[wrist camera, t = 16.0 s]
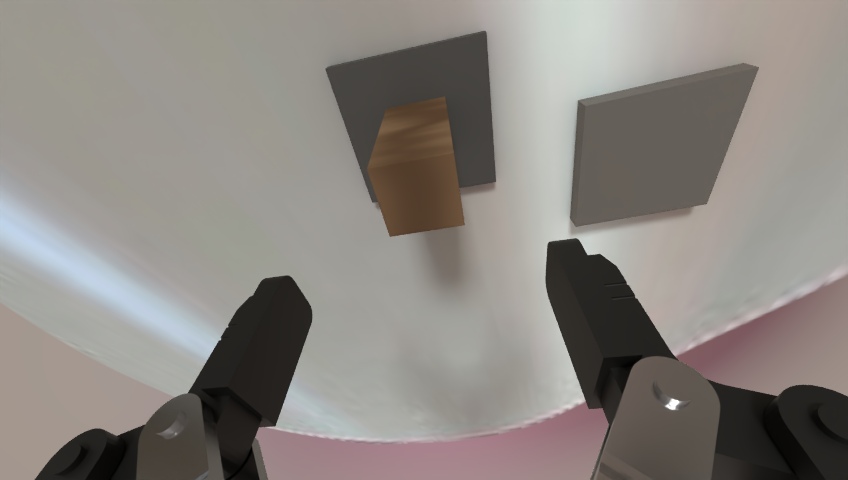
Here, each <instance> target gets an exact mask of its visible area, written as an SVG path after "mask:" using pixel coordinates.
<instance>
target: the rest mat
mask: <svg viewBox="0 0 848 480" xmlns="http://www.w3.org/2000/svg"><path fill="white" fill-rule="evenodd" d="M326 72H327V75H328V78H329V80H330V83H331V86H332V89H333V92H334V95H335V97H336V100H337V103H338V106H339V109H340V112H341V115H342V117H343V120H344V123H345V126H346V129H347V132H348V134H349V137H350V140H351V143H352V146H353V149H354V152H355V154H356V157H357V160H358V163H359V166H360V169H361V171H362V174H363V177H364V180H365V183H366V186H367V189H368V191H369V194H370V197H371V200H372V203H373V202H378V200H377V197H376V195H375V192H374V189H373V186H372V183H371V180H370V177H369V174H368V171H367V167H368V164H369V161H370V158H371V154H372V151H373V148H374V145H375V142H376V139H377V136H378V133H379V130H380V126H381V123H382V120H383V117H384V114H385V111H386V109H388V108H392V107H397V106H402V105H407V104H411V103H416V102H421V101H426V100H430V99H435V98H440V97H445V99H446V106H447V112H448V118H449V125H450V131H451V137H452V144H453V150H454V157H455V163H456V170H457V177H458V183H459V188H462V187H468V186H474V185H480V184H486V183H492V182H496V176H495V160H494V144H493V129H492V113H491V98H490V82H489V67H488V51H487V35H486V32H485V31H482V32H478V33H473V34H469V35H465V36H460V37H456V38H451V39H447V40H443V41H438V42H434V43H430V44H425V45H421V46H417V47H412V48H408V49H404V50H399V51H395V52H390V53H386V54H382V55H377V56H373V57H369V58H364V59H360V60H356V61H351V62H347V63H342V64H338V65H334V66H329V67H327V68H326Z"/></svg>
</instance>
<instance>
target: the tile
mask: <svg viewBox="0 0 848 480" xmlns="http://www.w3.org/2000/svg"><path fill="white" fill-rule="evenodd" d="M758 69H759V67H756V66H752V65H749V64H745V63H741V64H737V65H733V66H728V67H724V68H719V69H715V70H710V71H706V72H702V73H697V74H693V75H688V76H684V77H679V78H675V79H671V80H666V81H662V82H657V83H653V84H648V85H644V86H639V87H635V88H631V89H626V90H622V91H617V92H613V93H608V94H604V95H600V96H595V97H591V98H586V99H582V100H578V111H577V126H576V141H575V156H574V171H573V186H572V201H571V216H570V218H571V220H572V222H573V223H574V225H575V226H576V227H577V226H583V225H588V224H594V223H600V222H606V221H612V220H617V219H623V218H629V217H635V216H640V215H646V214H652V213H658V212H664V211H669V210H675V209H681V208H687V207H692V206H698V205H704V204H707V202H708V199H709V197H710V194H711V191H712V189H713V186H714V184H715V181H716V178H717V176H718V173H719V171H720V168H721V165H722V163H723V160H724V157H725V155H726V152H727V150H728V147H729V144H730V142H731V139H732V137H733V134H734V131H735V129H736V126H737V124H738V121H739V118H740V116H741V113H742V110H743V108H744V105H745V103H746V100H747V97H748V95H749V92H750V90H751V87H752V84H753V82H754V79H755V77H756V74H757V71H758Z"/></svg>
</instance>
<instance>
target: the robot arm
mask: <svg viewBox="0 0 848 480" xmlns="http://www.w3.org/2000/svg"><path fill="white" fill-rule="evenodd" d="M546 289H547V293H548V297H549V300H550V303H551V306H552V309H553V311H554V314H555V317H556V320H557V322H558V325H559V328H560V331H561V334H562V336H563V339H564V342H565V345H566V347H567V350H568V353H569V356H570V358H571V361H572V364H573V367H574V370H575V372H576V375H577V378H578V381H579V383H580V386H581V389H582V392H583V394H584V397H585V400H586V403H587V406H588V408H589V409H596V408H603V410H604V413H605V416H606V418H607V421H608V423H609V425H608V428H607V432H606V434H605V437H604V440H603V443H602V446H601V449H600V452H599V455H598V458H597V461H596V464H595V466H594V469H593V472H592V476H591V478H590V480H848V397H847V396H845V395H843V394H841V393H838V392H836V391H833V390H830V389H826V388H823V387H818V386H813V385H796V386H792V387H789V388H787V389H785V390H784V391H783V392H782V393H781V394H779V395H778V396H774V395H769V394H765V393H760V392H755V391H750V390H745V389H741V388H735V387H731V386H726V385H722V384H719V383H716V382H713V381H710V380H708V379H706V378H704V377H703V376H702V375H701V374H700V373H699V372H697V371H696V370H695V369H693V368H692V367H690V366H688V365H687V364H684V363H683V362H680V361H679V360H678V359H677V358H676V357H675V356H674V355H673V354H672V352H671V351H670V350H669V348H668V346H667V345H666V343H665V342H664V340H663V339H662V337H661V335H660V334H659V332H658V331H657V329H656V328H655V326H654V324H653V323H652V321H651V320H650V318H649V316H648V315H647V313H646V312H645V310H644V309H643V307H642V305H641V304H640V302H639V301H638V299H637V298H635V294H634V293H633V291H632V290H631V288H630V287H629V285H627V283H626V280H625V279H624V277H623V276H622V274H621V272H620V271H619V269H618V268H617V266H616V265H614V264H613V263H612V262H610V261H609V260H607V259H606V258H605V257H603V256H602V255H601V254H596V255H587V253H586V252H585V250H584V248H583V246H582V244H581V243H580V241H579V240H578V239H577V238H574V239H567V240H559V241H552V242H549V243H548V246H547V262H546ZM311 323H312V309H311V306H310V304H309V302H308V301H307V299H306V298H305V296H304V295H303V293H302V292H301V290H300V289H299V287H298V286H297V284H296V283H295V281H294V280H293V278H292V277H290V276H279V277H272V278H265V279H263V280H262V281H261V282H260V284H259V286H258V288H257V289H256V291H255V293H254V295H253V296H250V297H249V298H248V299H247V300H246V301H245V302H244V303H243V304H242V305H241V306H240V308H239V309H238V310H237V311H236V313H235V314H234V316H233V318H232V319H231V321H230V323H229V324H228V326H229V327H228V328H226V330H225V331H224V333H223V335H222V336H221V341H218V343H217V345H216V347H215V348H214V350H213V352H212V353H211V355H210V357H209V359H208V360H207V362H206V364H205V365H204V367H203V369H202V370H201V372H200V374H199V376H198V377H197V379H196V381H195V382H194V384H193V386H192V387H191V389H190V390H189V392H188V393H187V394H182V395H179V396H177V397H175V398H173V399H171V400H170V401H168V402H167V403H165V404H164V405H163V406H162V407H160V408H159V409H158V410H157V411H156V412H155V413H154V414H153V415H152V417H151V418H150V419H149V421H148V422H147V423H146V424H145V425H143V426H141V427H138V428H135V429H133V430H131V431H128V432H126V433H123V434H120V435H118V436H116V435H113V434H111V433H109V432H107V431H105V430H103V429H92V430H89V431H86V432H84V433H82V434H80V435H78V436H77V437H75V438H74V439H72V440H71V441H69V442H68V443H67V444H66V445H64V446H63V447H62V448H61V449H60V450H59V451H58V452H57V453H56V454H55V455H54V456H53V457H52V458H51V459H50V460H49V462H48V463H47V464H46V465H45V467H44V468H43V470H42V471H41V472H40V473H39V475H38V476H37V477H36V479H35V480H268V477H267V473H266V469H265V465H264V461H263V457H262V453H261V449H260V445H259V442H258V440H257V439H256V438H255V436H256V433H257V431H258V428H259V427H271V426H276V423H277V420H278V417H279V414H280V412H281V409H282V406H283V403H284V400H285V397H286V394H287V392H288V389H289V386H290V383H291V380H292V377H293V375H294V372H295V369H296V366H297V363H298V360H299V357H300V355H301V352H302V349H303V346H304V343H305V340H306V337H307V335H308V332H309V329H310V326H311Z"/></svg>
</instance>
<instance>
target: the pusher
mask: <svg viewBox="0 0 848 480" xmlns="http://www.w3.org/2000/svg"><path fill="white" fill-rule="evenodd" d="M367 171H368V174H369V177H370V180H371V183H372V186H373V189H374V192H375V195H376V197H377V200H378V203H379V206H380V209H381V212H382V215H383V218H384V221H385V224H386V227H387V230H388V233H389V236H390V237H391V236H398V235H404V234H410V233H417V232H423V231H430V230H436V229H443V228H449V227H455V226H462V225H465V223H464V216H463V210H462V203H461V196H460V190H459V183H458V177H457V170H456V163H455V157H454V150H453V144H452V137H451V131H450V125H449V118H448V112H447V106H446V99H445V97H440V98H435V99H430V100H426V101H421V102H416V103H411V104H407V105H402V106H397V107H392V108H388V109H386V111H385V114H384V117H383V120H382V123H381V126H380V130H379V133H378V136H377V139H376V142H375V145H374V148H373V151H372V154H371V158H370V161H369V164H368V167H367Z"/></svg>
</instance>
